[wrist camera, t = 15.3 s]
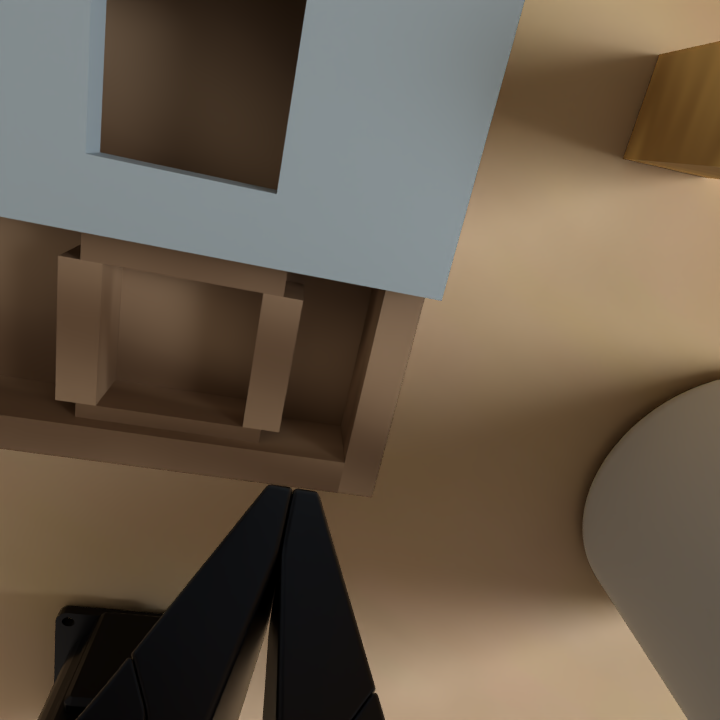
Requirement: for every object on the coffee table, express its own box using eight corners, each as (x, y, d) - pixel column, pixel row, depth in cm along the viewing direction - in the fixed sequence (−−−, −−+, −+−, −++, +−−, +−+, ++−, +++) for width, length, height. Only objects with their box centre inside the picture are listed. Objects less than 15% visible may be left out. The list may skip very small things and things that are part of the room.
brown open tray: (362, 444, 22) (371, 497, 19) (-200, 362, 19) (-303, 408, 16) (476, -13, 17) (516, -49, 13) (-296, -234, 14) (-485, -349, 10)
